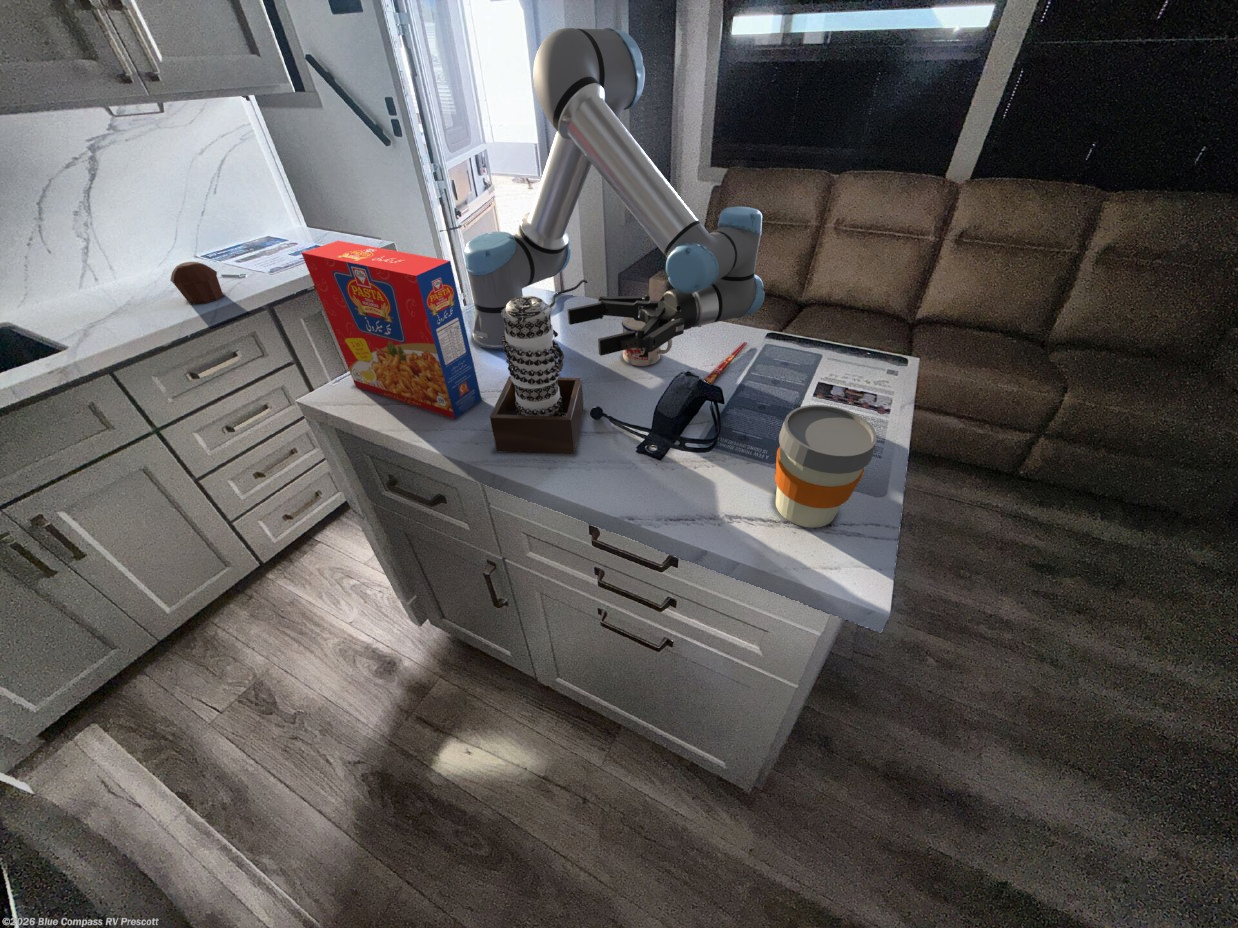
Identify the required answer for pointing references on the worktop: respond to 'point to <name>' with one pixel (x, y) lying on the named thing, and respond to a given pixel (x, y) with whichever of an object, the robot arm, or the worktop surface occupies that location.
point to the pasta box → (397, 324)
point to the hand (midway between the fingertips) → (582, 331)
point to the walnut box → (538, 422)
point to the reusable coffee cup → (820, 462)
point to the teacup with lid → (637, 354)
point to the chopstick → (723, 365)
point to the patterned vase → (532, 356)
